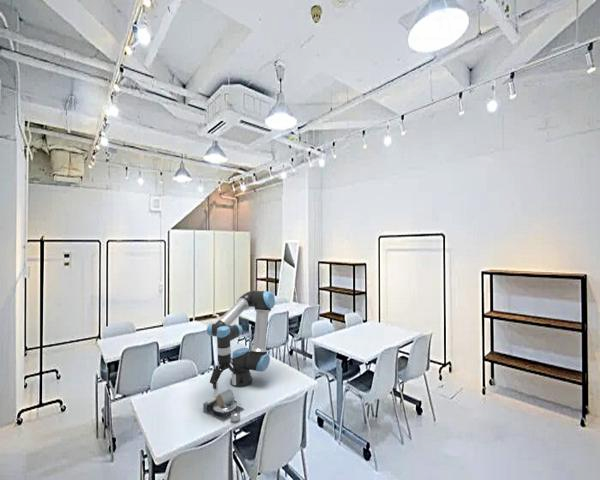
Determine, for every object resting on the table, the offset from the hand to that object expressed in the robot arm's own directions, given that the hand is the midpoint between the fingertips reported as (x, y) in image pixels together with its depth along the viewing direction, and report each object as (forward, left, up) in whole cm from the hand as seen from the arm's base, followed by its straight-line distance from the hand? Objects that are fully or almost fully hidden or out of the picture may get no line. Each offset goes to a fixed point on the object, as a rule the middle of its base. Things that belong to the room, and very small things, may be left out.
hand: (225, 389), depth 193 cm
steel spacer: (+3, +12, -13) cm, 18 cm away
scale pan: (0, 0, -12) cm, 12 cm away
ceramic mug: (0, +2, -9) cm, 9 cm away
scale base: (0, -1, -13) cm, 13 cm away
